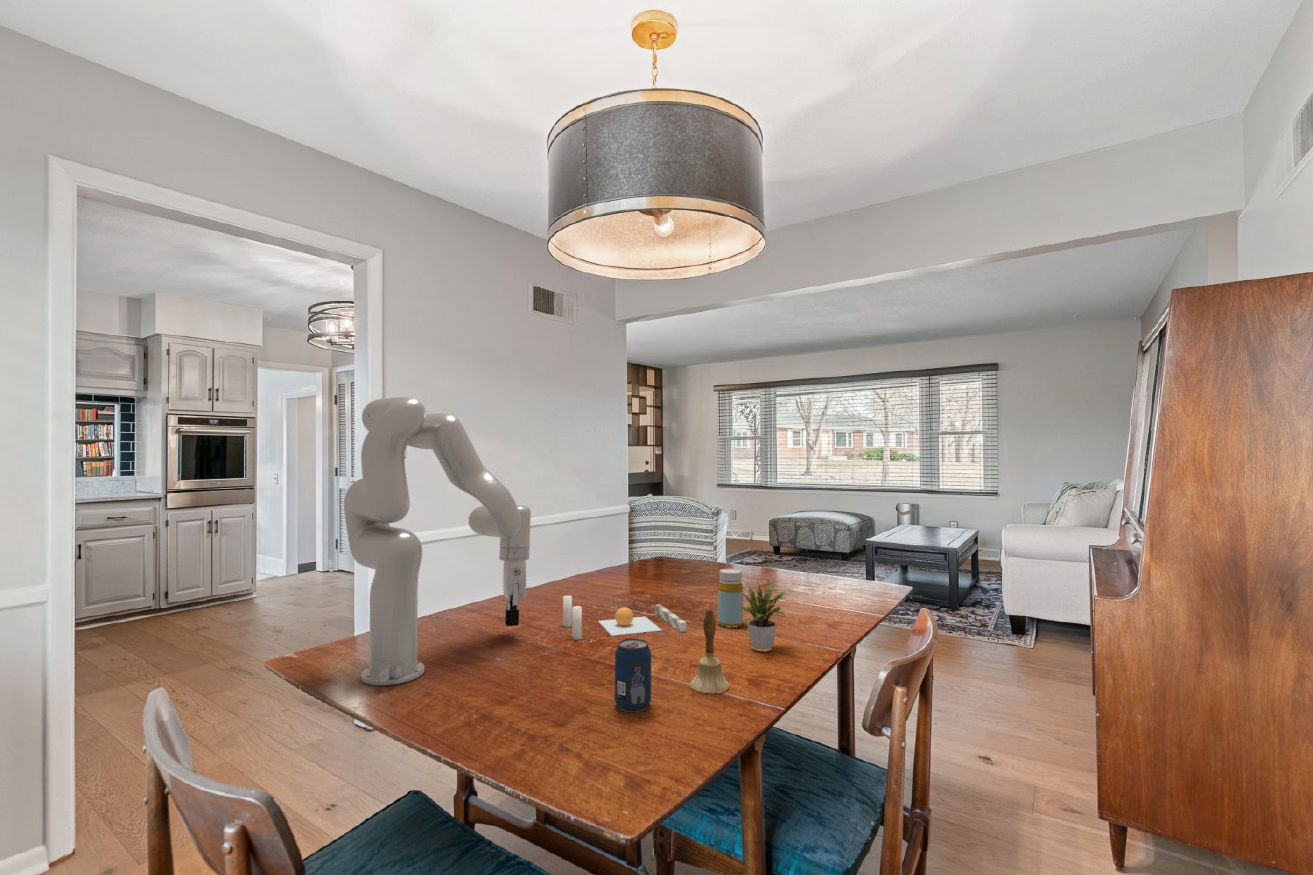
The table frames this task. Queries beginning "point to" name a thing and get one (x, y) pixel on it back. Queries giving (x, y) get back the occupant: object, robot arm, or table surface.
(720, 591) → the bottle
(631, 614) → the ball
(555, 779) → the table surface
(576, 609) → the post near
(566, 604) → the post far
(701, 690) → the hand bell
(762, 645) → the house plant
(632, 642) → the soda can
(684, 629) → the wall
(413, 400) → the robot arm
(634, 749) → the table surface
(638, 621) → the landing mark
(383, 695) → the table surface
